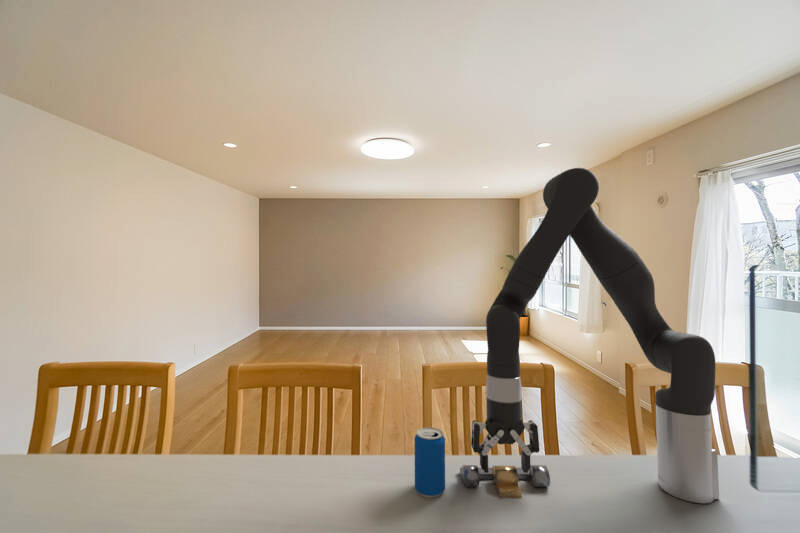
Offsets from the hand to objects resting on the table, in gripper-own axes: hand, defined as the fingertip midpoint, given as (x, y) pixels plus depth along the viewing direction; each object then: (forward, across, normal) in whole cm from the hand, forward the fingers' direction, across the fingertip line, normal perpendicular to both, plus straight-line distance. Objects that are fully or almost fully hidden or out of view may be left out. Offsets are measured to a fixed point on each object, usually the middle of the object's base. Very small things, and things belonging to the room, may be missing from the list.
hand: (505, 470), depth 77 cm
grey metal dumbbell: (+3, 0, +1) cm, 3 cm away
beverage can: (+3, -17, -2) cm, 17 cm away
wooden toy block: (+3, 0, -1) cm, 3 cm away
